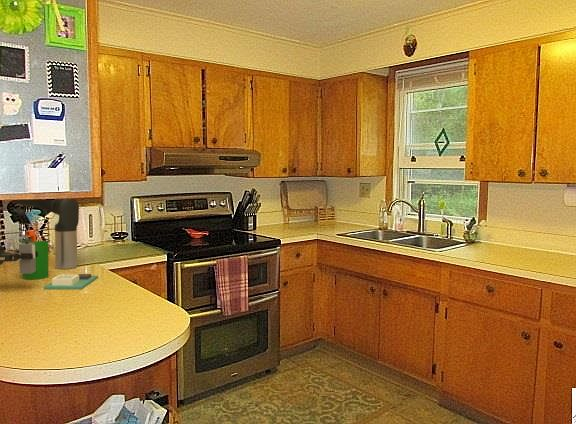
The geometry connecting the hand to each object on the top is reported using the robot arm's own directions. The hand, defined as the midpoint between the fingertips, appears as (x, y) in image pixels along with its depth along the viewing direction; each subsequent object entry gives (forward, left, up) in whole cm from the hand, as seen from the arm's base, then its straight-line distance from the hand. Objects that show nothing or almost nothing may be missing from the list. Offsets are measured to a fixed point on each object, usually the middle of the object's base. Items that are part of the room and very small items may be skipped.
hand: (35, 255), depth 182 cm
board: (-10, +10, -13) cm, 19 cm away
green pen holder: (-21, -9, -13) cm, 26 cm away
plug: (0, -3, -7) cm, 7 cm away
